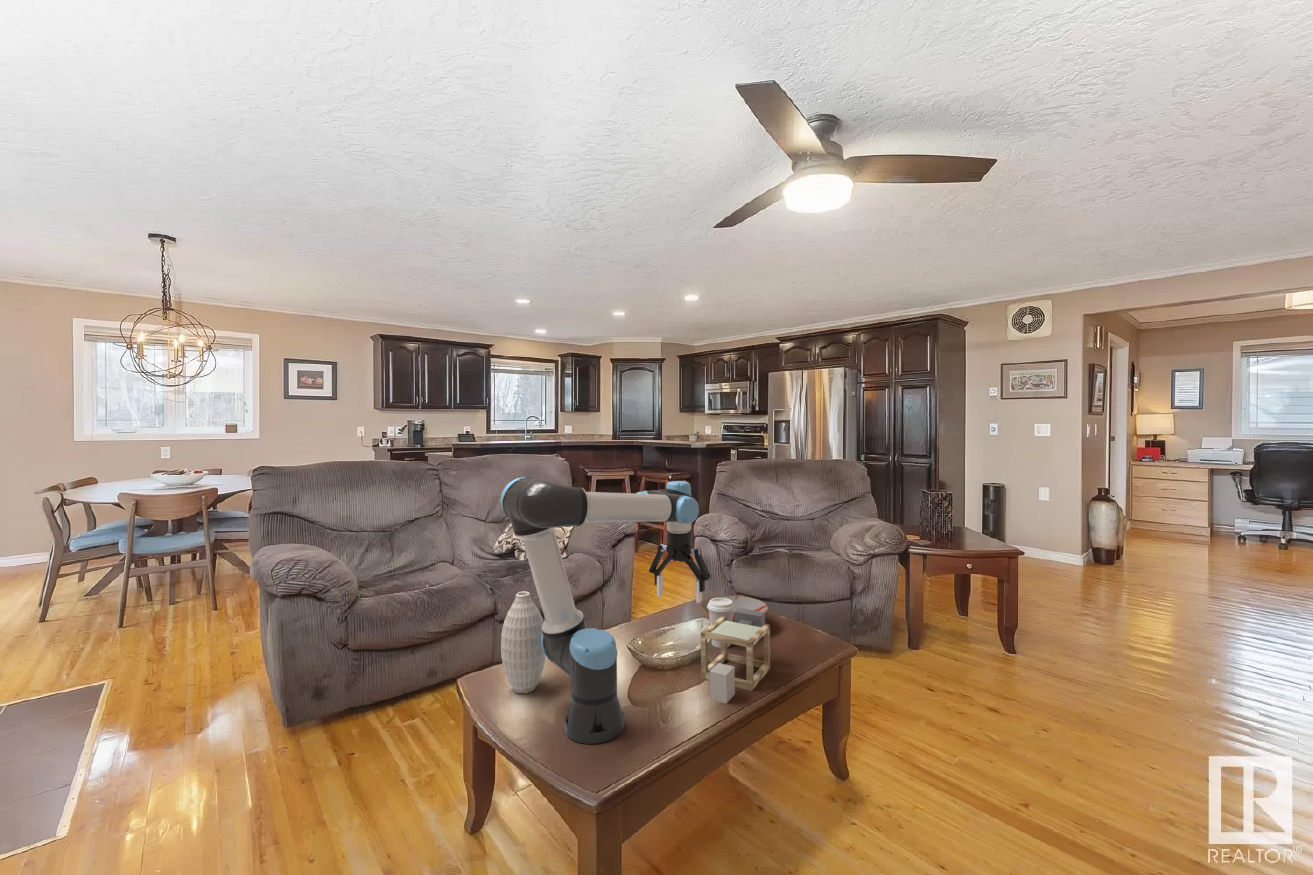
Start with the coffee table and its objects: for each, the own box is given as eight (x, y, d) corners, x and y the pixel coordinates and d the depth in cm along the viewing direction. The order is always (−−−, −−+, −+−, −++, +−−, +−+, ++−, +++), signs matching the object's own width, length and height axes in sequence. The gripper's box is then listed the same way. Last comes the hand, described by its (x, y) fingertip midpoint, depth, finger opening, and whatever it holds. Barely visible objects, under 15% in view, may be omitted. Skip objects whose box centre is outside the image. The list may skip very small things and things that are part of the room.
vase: (493, 689, 161) (491, 593, 160) (530, 674, 170) (528, 583, 169) (518, 704, 152) (516, 603, 151) (555, 687, 161) (553, 592, 160)
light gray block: (726, 703, 151) (726, 675, 151) (709, 699, 154) (709, 671, 153) (734, 694, 156) (734, 666, 156) (718, 690, 159) (718, 662, 159)
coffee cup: (739, 642, 192) (739, 599, 192) (727, 652, 184) (727, 607, 184) (714, 636, 198) (714, 595, 197) (702, 646, 190) (702, 602, 189)
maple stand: (751, 691, 158) (751, 642, 157) (701, 678, 166) (700, 632, 166) (770, 668, 172) (769, 624, 171) (722, 658, 180) (722, 615, 179)
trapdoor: (747, 650, 160) (747, 633, 160) (709, 642, 166) (709, 626, 166) (769, 628, 177) (769, 613, 177) (734, 621, 183) (734, 607, 183)
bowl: (698, 638, 196) (698, 616, 196) (704, 613, 221) (703, 593, 221) (770, 642, 192) (770, 619, 192) (767, 616, 217) (767, 596, 217)
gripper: (721, 532, 169) (721, 600, 170) (649, 525, 181) (649, 589, 182) (711, 537, 163) (711, 608, 163) (638, 529, 174) (638, 596, 175)
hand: (679, 598), depth 172 cm, fingers open, 13 cm apart
